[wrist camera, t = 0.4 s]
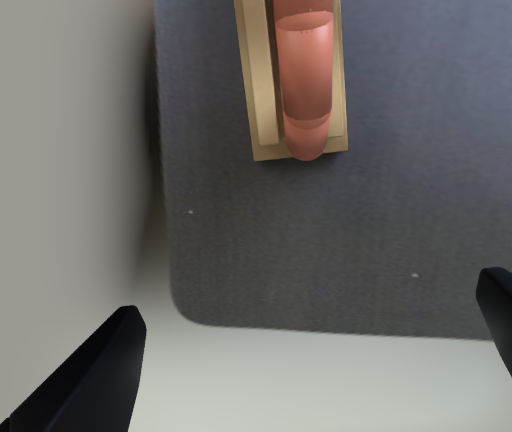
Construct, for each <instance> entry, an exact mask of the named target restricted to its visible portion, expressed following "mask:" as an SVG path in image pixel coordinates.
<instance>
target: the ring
mask: <svg viewBox="0 0 512 432" xmlns="http://www.w3.org/2000/svg"><path fill="white" fill-rule="evenodd" d="M272 9H273V19H274V29H275V39H276V49H277V59H278V69H279V78H280V88H281V98H282V108H283V117H284V127H285V136H286V143H287V148H288V150H289V152H290V153H291V155H292V156H294V157H295V158H297V159H299V160H302V161H310V160H313V159H316V158H317V157H319V156H320V155H321V154H322V152H323V151H324V149H325V146H326V141H327V135H328V129H329V123H330V117H331V111H332V73H333V2H332V0H272Z"/></svg>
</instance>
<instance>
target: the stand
mask: <svg viewBox="0 0 512 432" xmlns="http://www.w3.org/2000/svg"><path fill="white" fill-rule="evenodd" d="M332 2H333V73H332V111H331V117H330V123H329V129H328V135H327V141H326V146H325V149H324V151H323V152H322V154H324V153H333V152H341V151H348V139H347V120H346V100H345V81H344V62H343V42H342V23H341V4H340V0H332ZM234 8H235V16H236V24H237V31H238V39H239V47H240V55H241V63H242V71H243V78H244V86H245V94H246V102H247V110H248V118H249V126H250V133H251V141H252V149H253V157H254V161H264V160H272V159H281V158H290V157H294V156H292V155H291V153H290V152H289V150H288V148H287V143H286V136H285V127H284V117H283V108H282V98H281V88H280V78H279V69H278V59H277V49H276V39H275V29H274V19H273V9H272V0H234Z"/></svg>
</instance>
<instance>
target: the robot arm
mask: <svg viewBox="0 0 512 432" xmlns="http://www.w3.org/2000/svg"><path fill="white" fill-rule="evenodd" d="M476 299H477V302H478V304H479V307H480V309H481V312H482V314H483V316H484V319H485V321H486V323H487V326H488V328H489V330H490V333H491V335H492V338H493V340H494V342H495V345H496V347H497V349H498V351H499V354H500V356H501V358H502V360H503V362H504V364H505V366H506V367H507V369H508V371H509V373H510V375H511V376H512V273H511V272H509V271H507V270H506V269H504V268H501V267H491V268H484V269H482V270H481V272H480V275H479V279H478V284H477V288H476ZM145 340H146V325H145V322H144V320H143V318H142V316H141V314H140V312H139V310H138V308H137V307H136V306H134V305H130V306H122V307H120V308H119V309H117V310H116V311H115V312H114V313H113V314H112V315H111V316H110V317H109V318H108V319H107V320H106V321H105V322H104V323H103V324H102V325H101V326H100V327H99V328H98V329H97V330H96V331H95V332H94V333H93V334H92V335H91V336H90V337H89V338H88V339H87V340H86V341H85V342H84V343H83V344H82V345H80V346H79V347H78V349H76V350H75V351H74V352H73V353H72V354H71V355H70V356H69V358H67V359H66V360H65V361H64V362H63V363H62V364H61V365H60V366H59V367H58V368H57V369H56V370H55V371H54V372H53V373H52V374H51V375H50V376H49V377H48V378H47V379H46V380H45V381H44V382H43V383H42V384H41V385H40V386H39V387H38V388H37V389H36V390H35V391H34V392H33V393H32V394H31V395H30V396H29V397H28V398H27V399H26V400H25V401H24V402H23V403H22V404H21V405H20V406H19V407H18V408H17V409H16V410H14V411H13V413H11V415H10V418H9V417H8V418H6V419H5V420H4V421H3V422H2V423H1V424H0V432H128V428H129V424H130V420H131V416H132V412H133V408H134V404H135V400H136V396H137V392H138V387H139V382H140V375H141V368H142V361H143V354H144V347H145Z"/></svg>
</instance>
